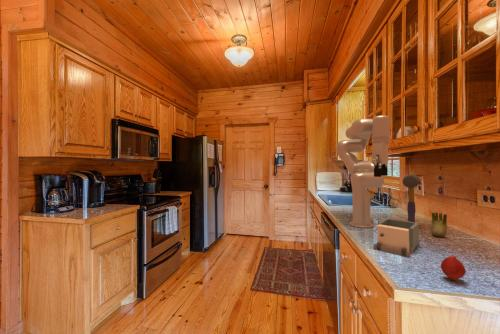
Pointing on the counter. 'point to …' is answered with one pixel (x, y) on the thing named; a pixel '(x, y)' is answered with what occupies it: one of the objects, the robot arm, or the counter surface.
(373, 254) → the counter surface
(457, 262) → the onion
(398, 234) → the door
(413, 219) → the rubber mallet
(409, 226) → the cabinet
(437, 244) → the counter surface
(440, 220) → the fennel bulb
